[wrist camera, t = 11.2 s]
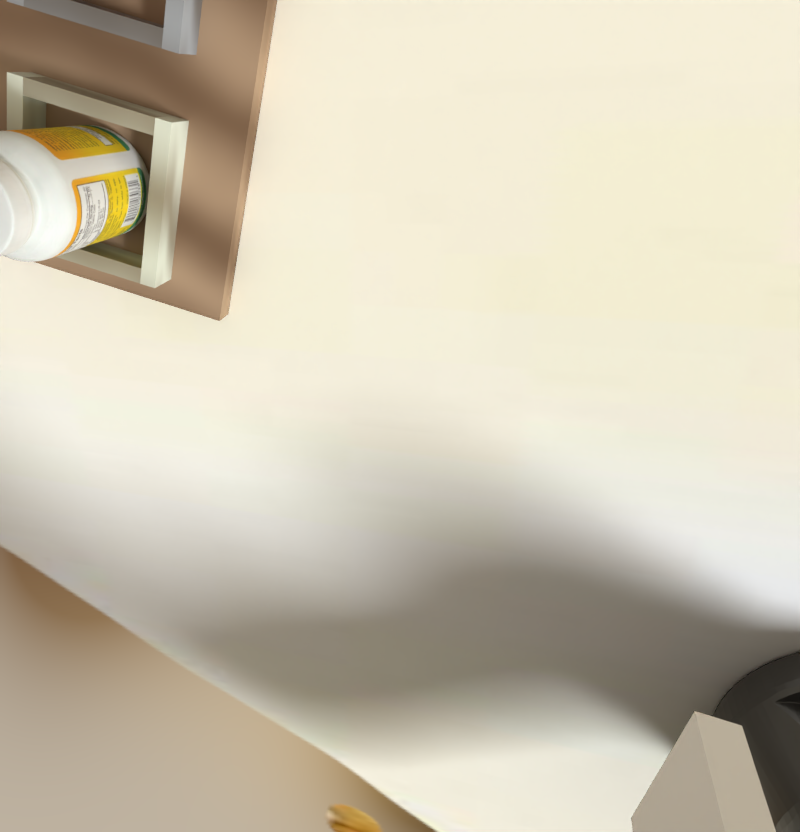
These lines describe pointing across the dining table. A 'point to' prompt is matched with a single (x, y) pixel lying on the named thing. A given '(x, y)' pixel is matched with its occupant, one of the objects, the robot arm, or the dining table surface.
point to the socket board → (151, 125)
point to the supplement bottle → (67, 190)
